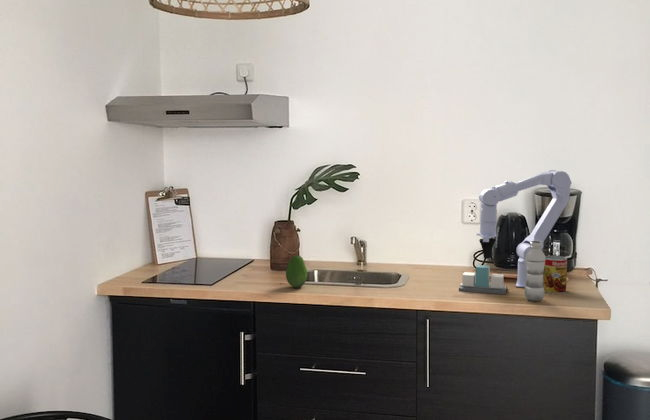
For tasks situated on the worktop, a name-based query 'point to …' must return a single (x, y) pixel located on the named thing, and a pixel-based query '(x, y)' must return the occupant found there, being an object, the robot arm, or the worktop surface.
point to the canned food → (555, 274)
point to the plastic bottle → (535, 272)
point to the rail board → (495, 287)
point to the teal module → (482, 276)
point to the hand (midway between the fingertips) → (487, 258)
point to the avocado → (296, 272)
